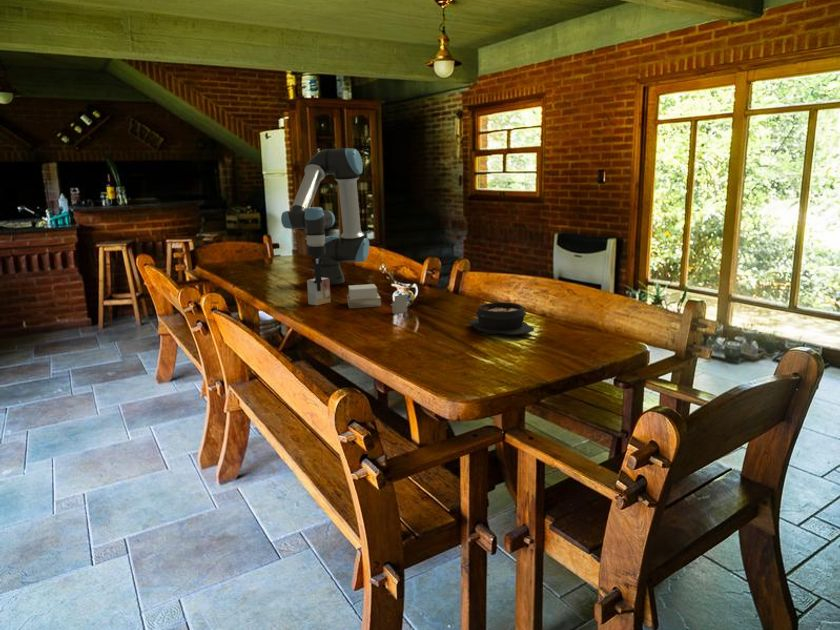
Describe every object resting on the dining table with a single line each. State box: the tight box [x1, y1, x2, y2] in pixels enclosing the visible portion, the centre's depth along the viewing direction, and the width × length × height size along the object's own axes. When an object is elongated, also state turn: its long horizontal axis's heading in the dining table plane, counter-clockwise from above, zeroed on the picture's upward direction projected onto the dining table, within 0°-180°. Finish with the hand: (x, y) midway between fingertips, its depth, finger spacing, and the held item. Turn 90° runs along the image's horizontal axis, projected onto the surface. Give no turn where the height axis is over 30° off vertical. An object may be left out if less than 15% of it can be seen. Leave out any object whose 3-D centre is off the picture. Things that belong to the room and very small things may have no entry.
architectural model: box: [390, 294, 410, 315], centre depth 235 cm, size 3×7×7 cm, turn 124°
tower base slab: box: [346, 292, 382, 309], centre depth 249 cm, size 11×13×4 cm
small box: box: [306, 277, 332, 306], centre depth 253 cm, size 8×6×10 cm
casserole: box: [468, 302, 535, 336], centre depth 204 cm, size 25×19×8 cm
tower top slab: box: [348, 283, 378, 299], centre depth 249 cm, size 9×11×4 cm
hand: (319, 295), depth 253 cm, fingers open, 13 cm apart
